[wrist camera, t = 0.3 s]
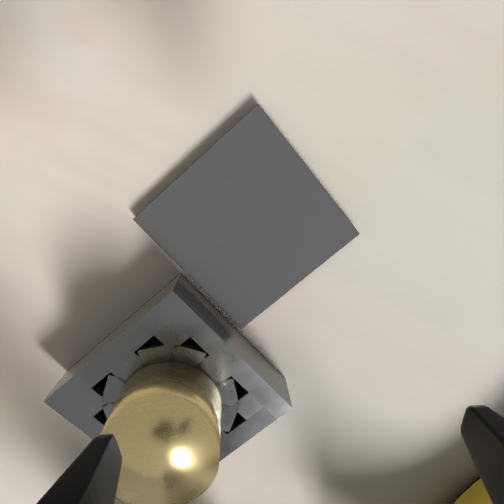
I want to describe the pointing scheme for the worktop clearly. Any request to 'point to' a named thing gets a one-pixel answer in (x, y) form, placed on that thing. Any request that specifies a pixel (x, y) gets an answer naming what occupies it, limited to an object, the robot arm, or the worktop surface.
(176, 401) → the end cover
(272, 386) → the housing
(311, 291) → the worktop surface
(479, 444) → the robot arm
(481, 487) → the banana
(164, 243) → the mat
